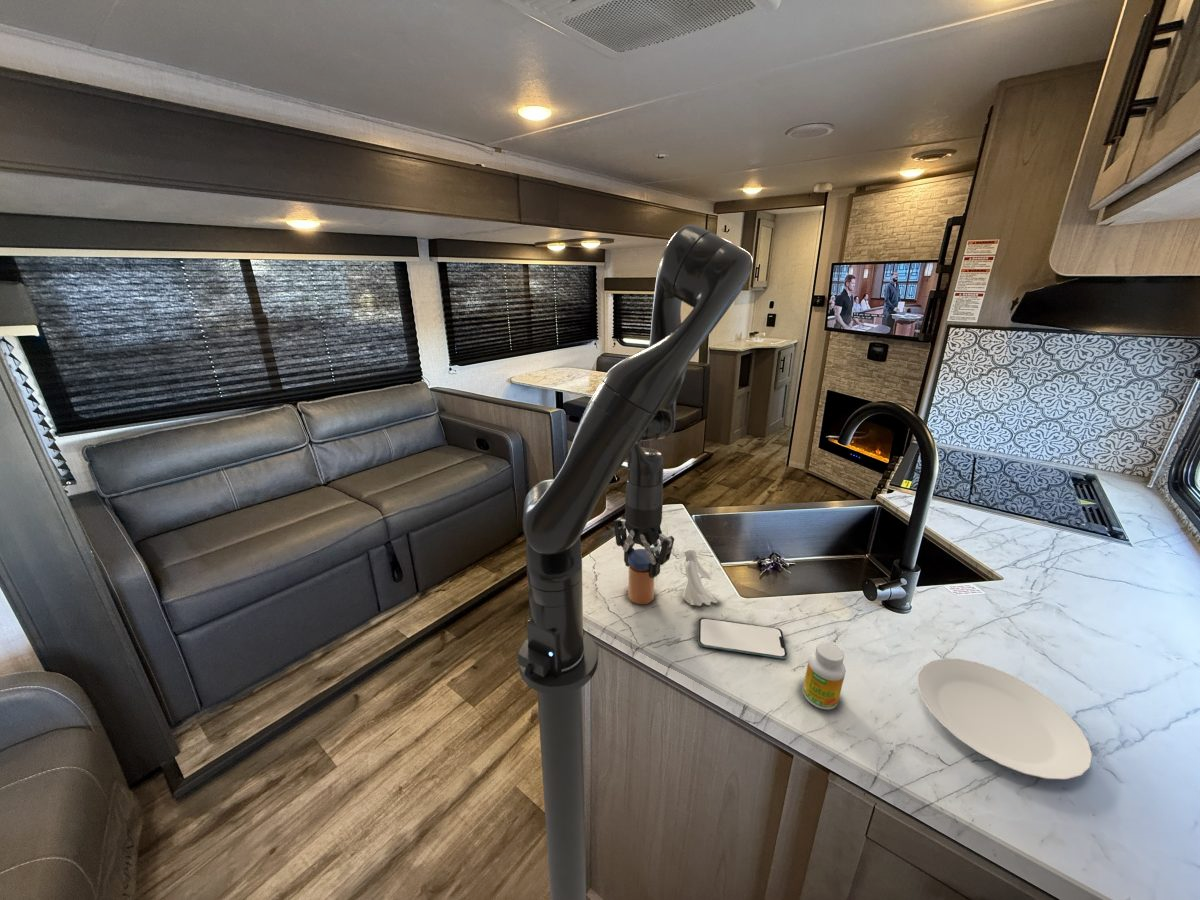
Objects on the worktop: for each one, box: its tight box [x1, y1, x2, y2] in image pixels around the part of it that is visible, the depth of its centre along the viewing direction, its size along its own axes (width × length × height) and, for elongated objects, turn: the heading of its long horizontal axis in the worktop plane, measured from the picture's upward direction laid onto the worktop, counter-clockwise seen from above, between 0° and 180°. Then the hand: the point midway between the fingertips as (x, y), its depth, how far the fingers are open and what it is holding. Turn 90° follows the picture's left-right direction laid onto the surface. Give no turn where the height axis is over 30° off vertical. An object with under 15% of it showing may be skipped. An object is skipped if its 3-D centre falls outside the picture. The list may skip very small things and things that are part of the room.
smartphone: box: [697, 617, 788, 660], centre depth 88 cm, size 8×1×16 cm
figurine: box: [682, 548, 718, 607], centre depth 97 cm, size 8×8×12 cm
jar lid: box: [628, 548, 651, 570], centre depth 97 cm, size 6×6×2 cm
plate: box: [916, 658, 1093, 781], centre depth 72 cm, size 21×21×2 cm
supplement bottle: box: [802, 641, 847, 710], centre depth 75 cm, size 5×5×10 cm
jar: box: [627, 565, 656, 605], centre depth 99 cm, size 6×6×9 cm
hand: (641, 570), depth 98 cm, fingers closed on jar lid, 5 cm apart
